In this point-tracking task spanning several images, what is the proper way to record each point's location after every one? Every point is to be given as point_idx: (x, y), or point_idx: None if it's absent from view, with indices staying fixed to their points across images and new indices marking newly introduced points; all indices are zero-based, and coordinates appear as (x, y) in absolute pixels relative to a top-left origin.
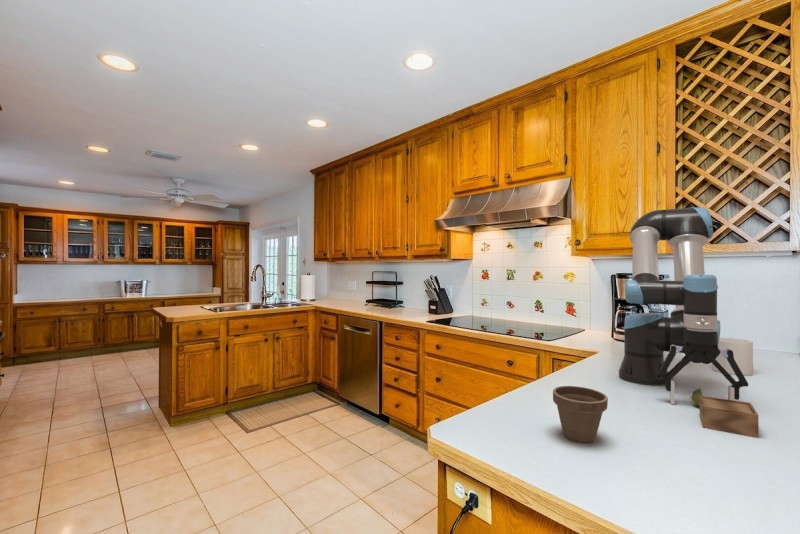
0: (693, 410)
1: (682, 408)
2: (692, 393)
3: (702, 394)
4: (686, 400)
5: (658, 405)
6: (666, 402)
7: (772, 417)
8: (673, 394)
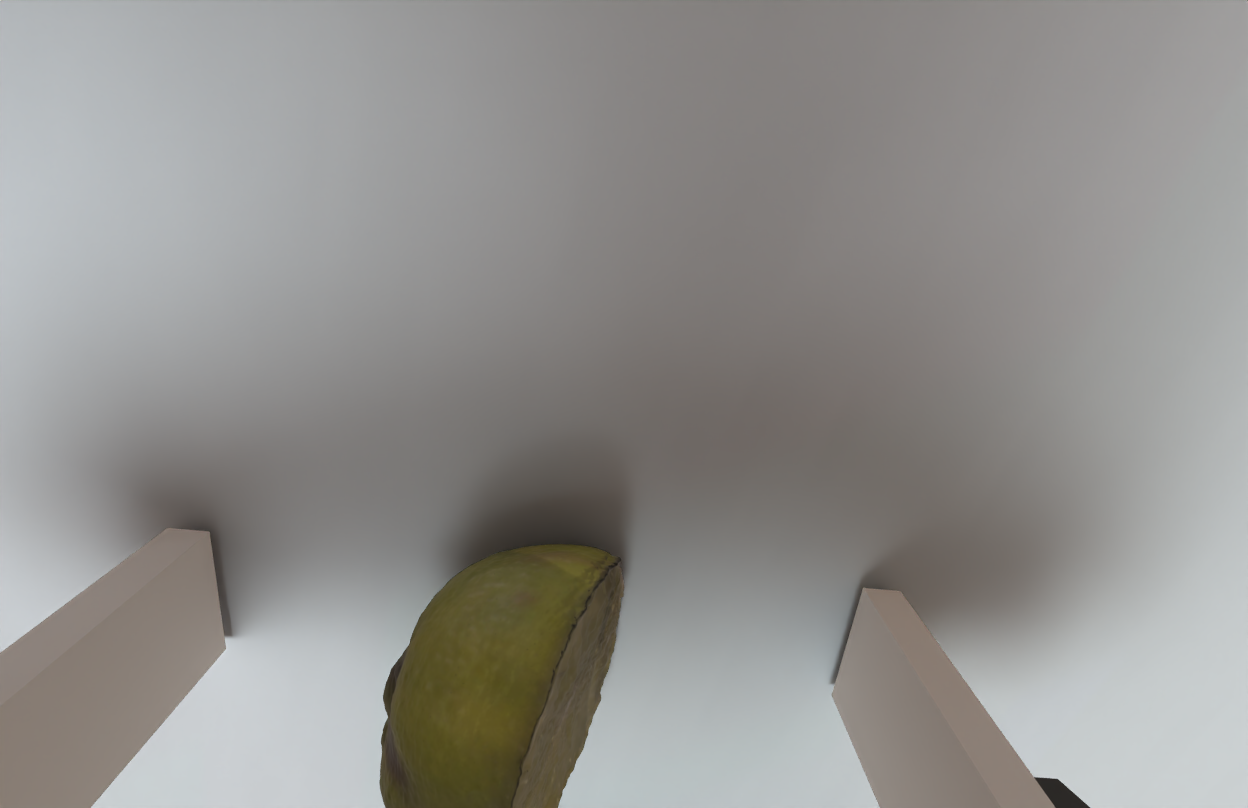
0: None
1: (318, 723)
2: (380, 770)
3: (583, 614)
4: (411, 340)
5: None
6: None
7: (1234, 668)
8: (102, 778)
